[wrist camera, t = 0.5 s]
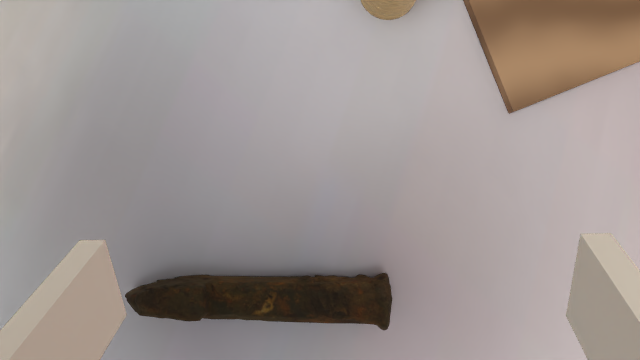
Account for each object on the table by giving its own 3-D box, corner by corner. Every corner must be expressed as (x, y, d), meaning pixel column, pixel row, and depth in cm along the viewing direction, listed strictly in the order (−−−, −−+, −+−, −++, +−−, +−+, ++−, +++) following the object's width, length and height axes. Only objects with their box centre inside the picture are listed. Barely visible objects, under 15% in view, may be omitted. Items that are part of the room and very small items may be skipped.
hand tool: (388, 268, 40) (397, 279, 36) (385, 321, 40) (393, 339, 36) (139, 252, 40) (115, 260, 36) (135, 304, 40) (111, 320, 36)
